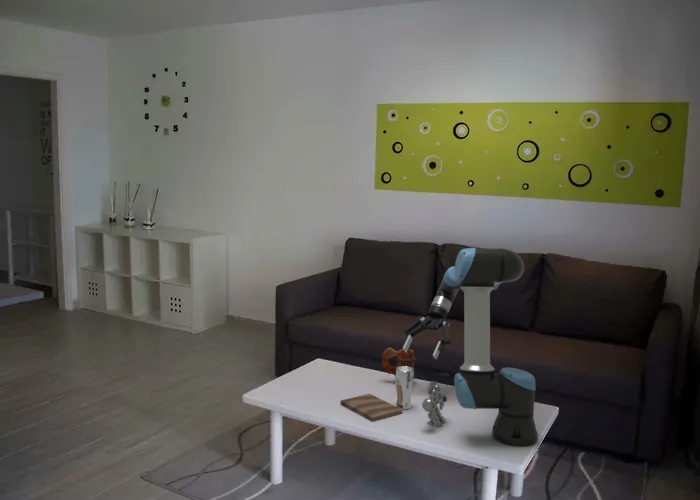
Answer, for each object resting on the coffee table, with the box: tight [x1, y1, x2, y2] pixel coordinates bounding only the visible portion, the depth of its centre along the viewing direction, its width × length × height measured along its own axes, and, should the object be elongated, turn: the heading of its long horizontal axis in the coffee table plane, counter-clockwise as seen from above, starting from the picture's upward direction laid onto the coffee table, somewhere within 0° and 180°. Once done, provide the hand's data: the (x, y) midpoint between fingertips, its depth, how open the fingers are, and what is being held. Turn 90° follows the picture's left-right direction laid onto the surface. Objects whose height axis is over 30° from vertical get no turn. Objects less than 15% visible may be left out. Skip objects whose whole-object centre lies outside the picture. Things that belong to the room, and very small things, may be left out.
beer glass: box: [394, 366, 415, 410], centre depth 244 cm, size 7×7×15 cm
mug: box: [381, 347, 417, 379], centre depth 271 cm, size 15×8×15 cm, turn 84°
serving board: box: [340, 393, 403, 422], centre depth 242 cm, size 20×14×2 cm
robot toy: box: [421, 380, 448, 428], centre depth 228 cm, size 15×6×15 cm, turn 148°
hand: (419, 353), depth 251 cm, fingers open, 13 cm apart
